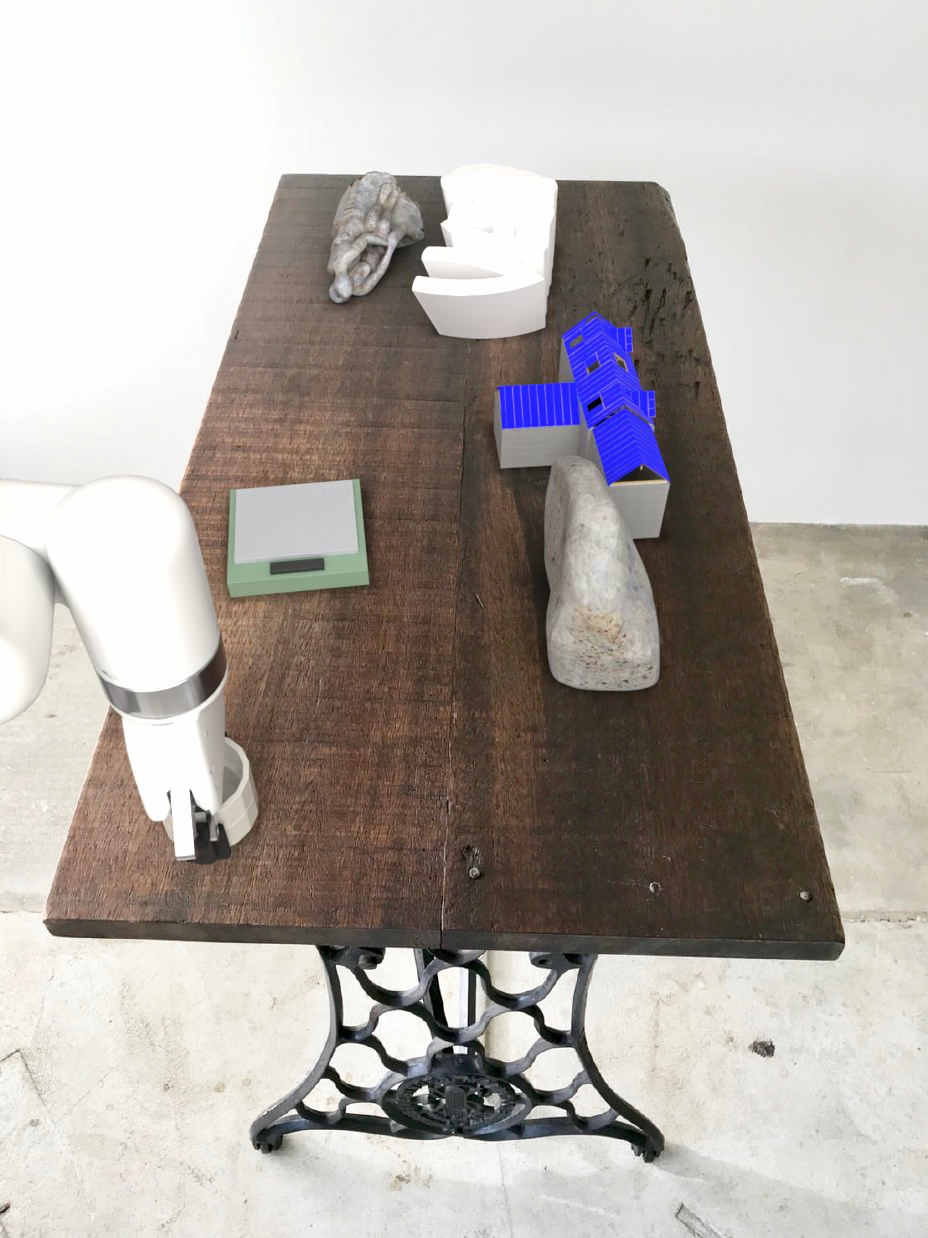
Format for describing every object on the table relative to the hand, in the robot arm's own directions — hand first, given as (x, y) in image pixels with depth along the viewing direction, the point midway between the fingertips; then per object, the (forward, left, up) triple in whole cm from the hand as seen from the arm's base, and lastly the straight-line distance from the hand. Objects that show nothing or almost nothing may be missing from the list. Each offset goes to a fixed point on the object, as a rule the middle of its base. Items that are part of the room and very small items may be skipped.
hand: (210, 808), depth 72 cm
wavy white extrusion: (+33, +76, -4) cm, 83 cm away
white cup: (0, 0, -1) cm, 1 cm away
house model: (+36, +40, -4) cm, 54 cm away
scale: (+7, +31, -4) cm, 32 cm away
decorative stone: (+33, +17, -4) cm, 37 cm away
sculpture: (+17, +80, -4) cm, 82 cm away
